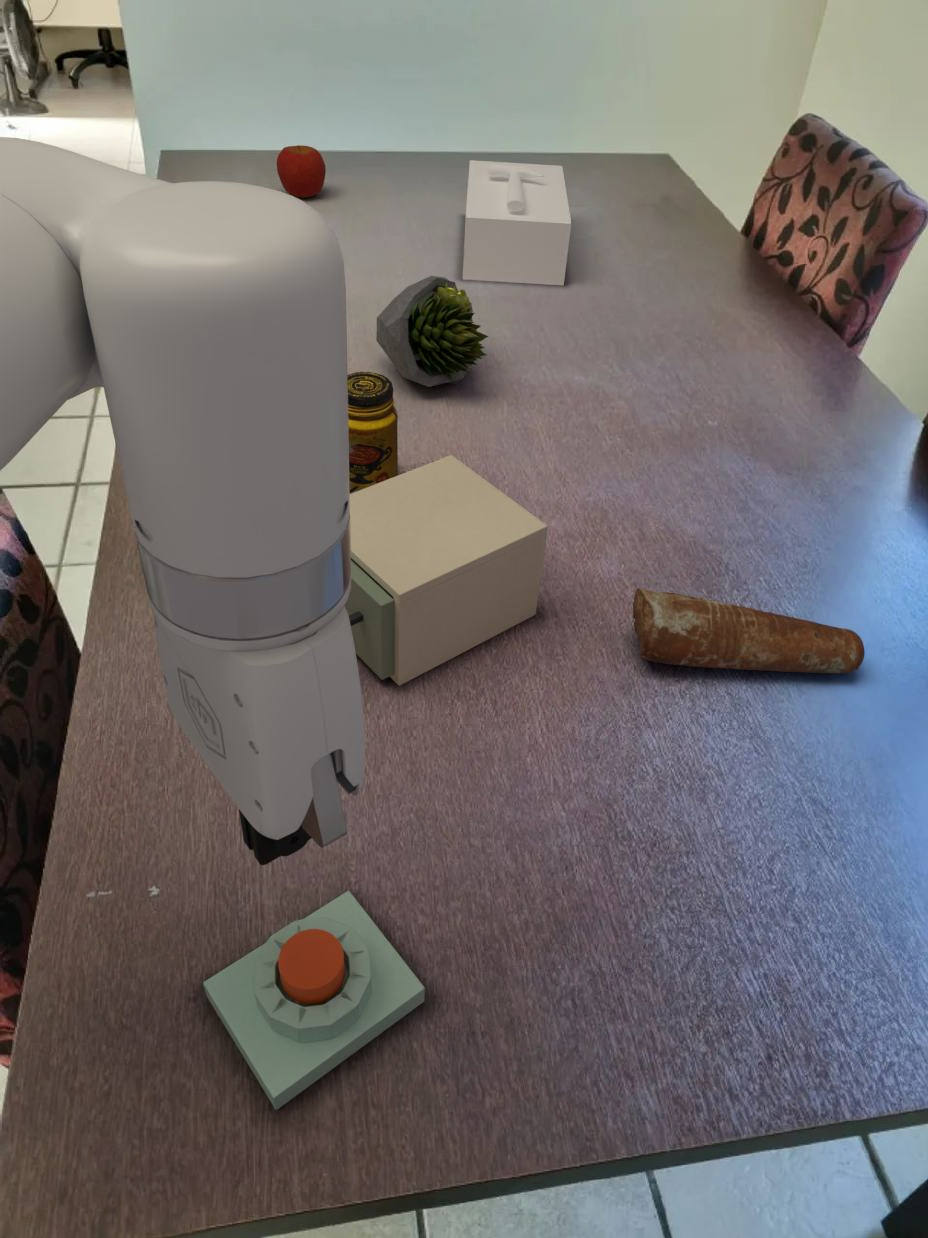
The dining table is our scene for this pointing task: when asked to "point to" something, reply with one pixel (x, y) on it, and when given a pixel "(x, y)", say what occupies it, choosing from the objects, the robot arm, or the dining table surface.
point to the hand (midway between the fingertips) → (280, 840)
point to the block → (313, 1033)
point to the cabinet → (447, 560)
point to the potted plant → (430, 332)
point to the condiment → (371, 430)
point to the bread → (738, 637)
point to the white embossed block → (516, 223)
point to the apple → (301, 170)
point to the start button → (311, 966)
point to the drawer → (371, 621)
